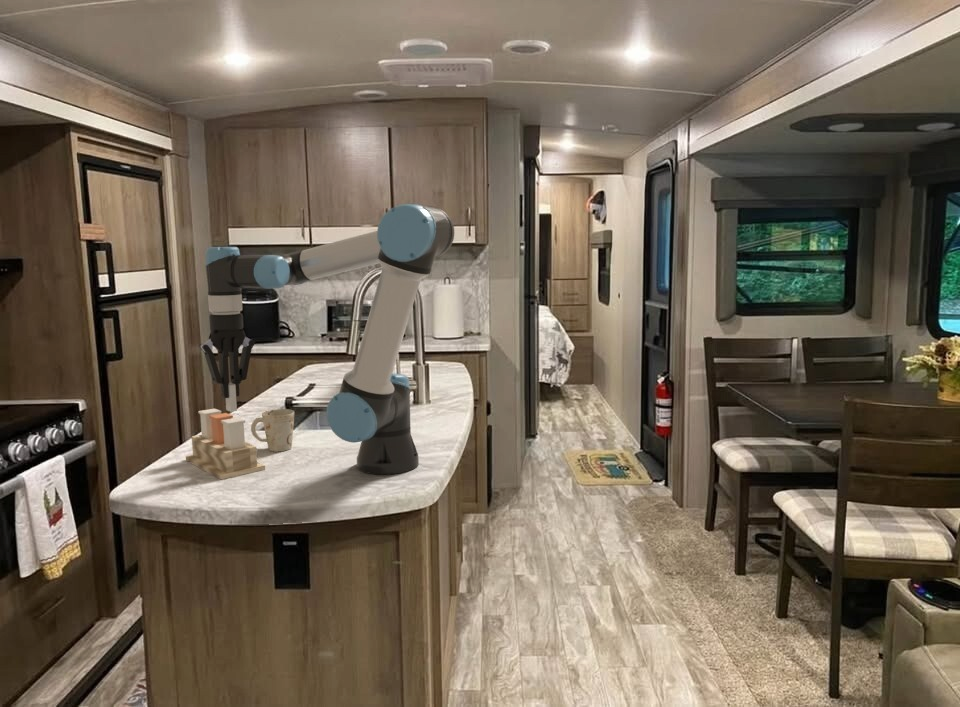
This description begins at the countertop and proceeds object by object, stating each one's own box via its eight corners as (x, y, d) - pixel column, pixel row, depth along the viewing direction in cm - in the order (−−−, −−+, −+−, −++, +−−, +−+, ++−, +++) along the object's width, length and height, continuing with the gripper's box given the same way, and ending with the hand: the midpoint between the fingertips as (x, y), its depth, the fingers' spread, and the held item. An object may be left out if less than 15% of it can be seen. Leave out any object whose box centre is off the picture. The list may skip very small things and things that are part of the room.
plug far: (223, 439, 190) (221, 411, 189) (207, 442, 188) (204, 413, 187) (216, 436, 194) (214, 408, 192) (200, 439, 191) (198, 411, 190)
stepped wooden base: (264, 469, 182) (263, 445, 181) (221, 479, 174) (219, 454, 174) (227, 451, 198) (225, 429, 197) (185, 460, 191) (184, 437, 190)
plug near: (247, 450, 180) (245, 420, 179) (230, 453, 177) (228, 423, 176) (239, 446, 183) (237, 417, 182) (223, 450, 180) (221, 420, 179)
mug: (287, 453, 195) (285, 416, 194) (243, 451, 198) (241, 415, 196) (301, 445, 203) (299, 409, 202) (259, 443, 206) (256, 408, 204)
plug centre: (234, 444, 185) (232, 415, 184) (218, 447, 182) (216, 418, 181) (227, 441, 188) (225, 412, 187) (211, 444, 186) (209, 415, 184)
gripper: (245, 309, 182) (250, 403, 186) (192, 313, 174) (198, 412, 177) (259, 311, 177) (264, 408, 180) (204, 315, 168) (211, 417, 172)
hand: (231, 410), depth 179 cm, fingers closed
